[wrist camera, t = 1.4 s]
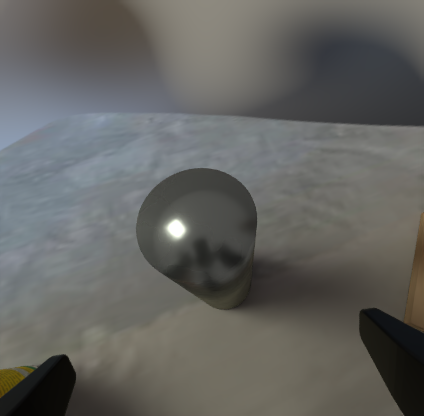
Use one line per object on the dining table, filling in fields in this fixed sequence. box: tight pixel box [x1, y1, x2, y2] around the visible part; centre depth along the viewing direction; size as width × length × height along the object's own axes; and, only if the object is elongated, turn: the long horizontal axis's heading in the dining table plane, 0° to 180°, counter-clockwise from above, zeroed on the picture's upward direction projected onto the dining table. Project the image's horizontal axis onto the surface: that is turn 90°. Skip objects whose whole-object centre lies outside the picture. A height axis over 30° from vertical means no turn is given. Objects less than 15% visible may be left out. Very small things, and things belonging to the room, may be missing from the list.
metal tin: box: [136, 168, 257, 310], centre depth 14 cm, size 4×4×12 cm
